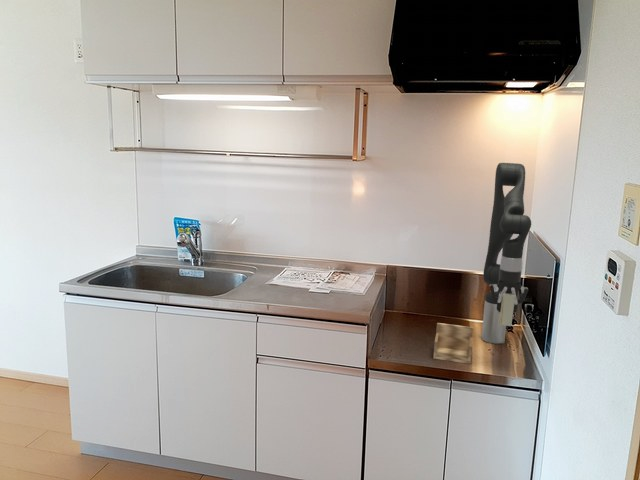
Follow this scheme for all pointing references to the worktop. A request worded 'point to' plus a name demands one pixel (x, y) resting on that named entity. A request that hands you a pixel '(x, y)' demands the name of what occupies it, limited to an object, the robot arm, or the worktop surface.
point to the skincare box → (506, 309)
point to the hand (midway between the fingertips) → (506, 312)
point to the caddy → (453, 343)
